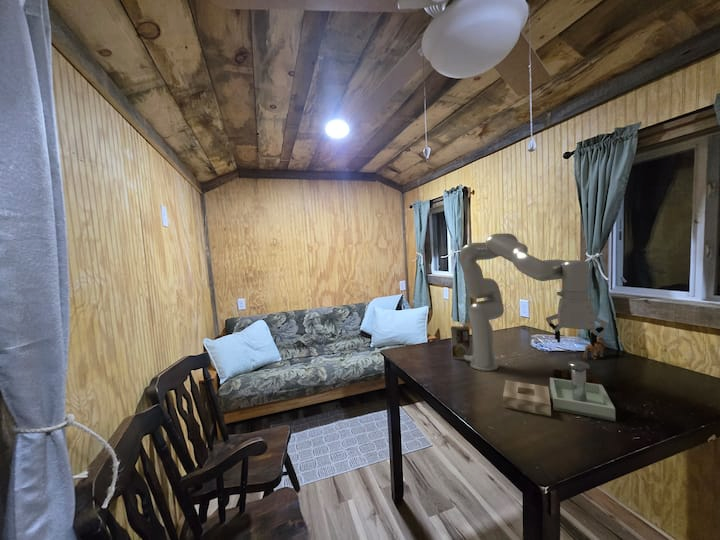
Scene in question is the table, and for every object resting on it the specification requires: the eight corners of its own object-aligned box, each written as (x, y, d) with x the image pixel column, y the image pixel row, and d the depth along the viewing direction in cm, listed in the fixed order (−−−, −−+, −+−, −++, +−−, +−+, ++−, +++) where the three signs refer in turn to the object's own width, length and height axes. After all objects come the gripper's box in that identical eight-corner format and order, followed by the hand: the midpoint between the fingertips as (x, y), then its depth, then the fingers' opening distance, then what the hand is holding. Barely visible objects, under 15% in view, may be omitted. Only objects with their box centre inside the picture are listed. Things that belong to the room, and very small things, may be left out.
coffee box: (470, 355, 150) (468, 326, 150) (470, 360, 144) (469, 329, 144) (452, 354, 153) (451, 325, 153) (452, 359, 147) (450, 328, 147)
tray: (553, 409, 96) (553, 398, 96) (550, 387, 111) (549, 377, 111) (615, 421, 88) (615, 408, 87) (602, 395, 103) (602, 384, 103)
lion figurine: (595, 352, 144) (594, 335, 144) (608, 355, 140) (607, 337, 139) (580, 358, 138) (580, 340, 137) (593, 361, 133) (593, 343, 132)
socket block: (503, 407, 99) (503, 396, 99) (506, 390, 111) (505, 380, 111) (551, 416, 92) (550, 404, 92) (548, 397, 104) (548, 386, 104)
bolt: (554, 380, 121) (599, 390, 109) (551, 378, 118) (597, 387, 106) (555, 366, 123) (600, 375, 111) (552, 364, 120) (597, 372, 108)
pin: (570, 401, 98) (568, 365, 98) (568, 394, 103) (566, 359, 103) (592, 405, 95) (590, 368, 95) (588, 397, 100) (587, 361, 100)
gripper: (546, 296, 99) (546, 343, 100) (610, 298, 90) (609, 350, 91) (545, 293, 106) (545, 337, 107) (604, 294, 97) (604, 343, 98)
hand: (575, 343), depth 99 cm, fingers open, 9 cm apart
